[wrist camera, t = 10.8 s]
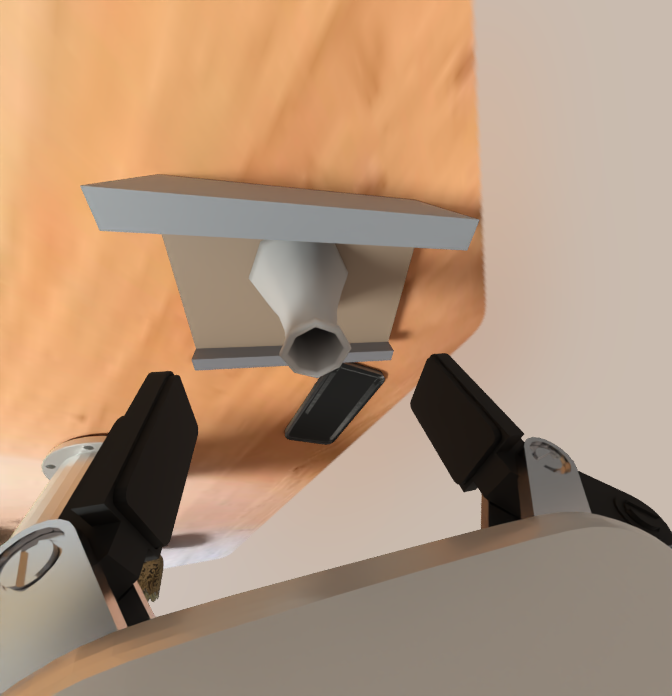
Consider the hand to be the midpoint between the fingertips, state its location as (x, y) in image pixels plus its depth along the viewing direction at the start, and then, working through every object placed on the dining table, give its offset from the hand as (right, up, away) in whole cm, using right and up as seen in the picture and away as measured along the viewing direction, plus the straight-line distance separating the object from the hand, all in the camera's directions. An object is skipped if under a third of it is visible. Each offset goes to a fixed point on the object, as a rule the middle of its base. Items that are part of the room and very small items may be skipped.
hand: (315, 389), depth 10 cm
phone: (0, -6, +24) cm, 24 cm away
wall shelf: (-3, +7, +12) cm, 14 cm away
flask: (-2, +8, +10) cm, 13 cm away
